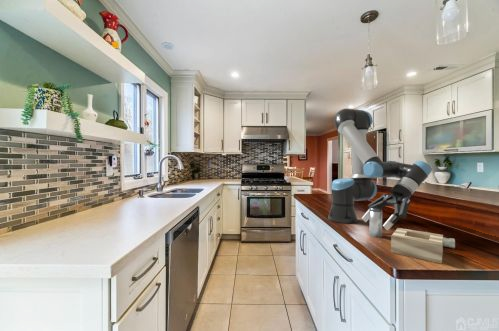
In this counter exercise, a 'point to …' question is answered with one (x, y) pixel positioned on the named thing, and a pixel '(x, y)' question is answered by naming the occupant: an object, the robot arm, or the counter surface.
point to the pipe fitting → (449, 242)
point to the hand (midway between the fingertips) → (373, 223)
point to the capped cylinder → (375, 222)
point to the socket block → (417, 244)
